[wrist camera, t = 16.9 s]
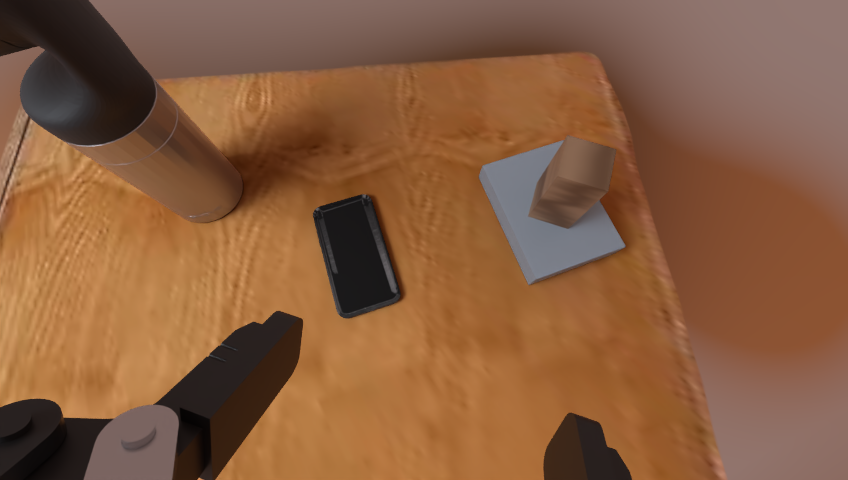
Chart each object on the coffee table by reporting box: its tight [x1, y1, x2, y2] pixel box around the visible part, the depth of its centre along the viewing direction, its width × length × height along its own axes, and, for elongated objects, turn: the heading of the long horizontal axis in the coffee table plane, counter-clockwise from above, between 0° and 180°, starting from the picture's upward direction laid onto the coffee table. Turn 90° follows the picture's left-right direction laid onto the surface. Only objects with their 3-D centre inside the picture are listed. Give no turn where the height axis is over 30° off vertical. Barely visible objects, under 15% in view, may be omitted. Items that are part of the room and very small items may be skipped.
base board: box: [479, 140, 626, 285], centre depth 47 cm, size 16×12×3 cm
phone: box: [313, 194, 401, 318], centre depth 46 cm, size 8×1×15 cm
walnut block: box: [528, 135, 616, 229], centre depth 41 cm, size 5×5×10 cm
